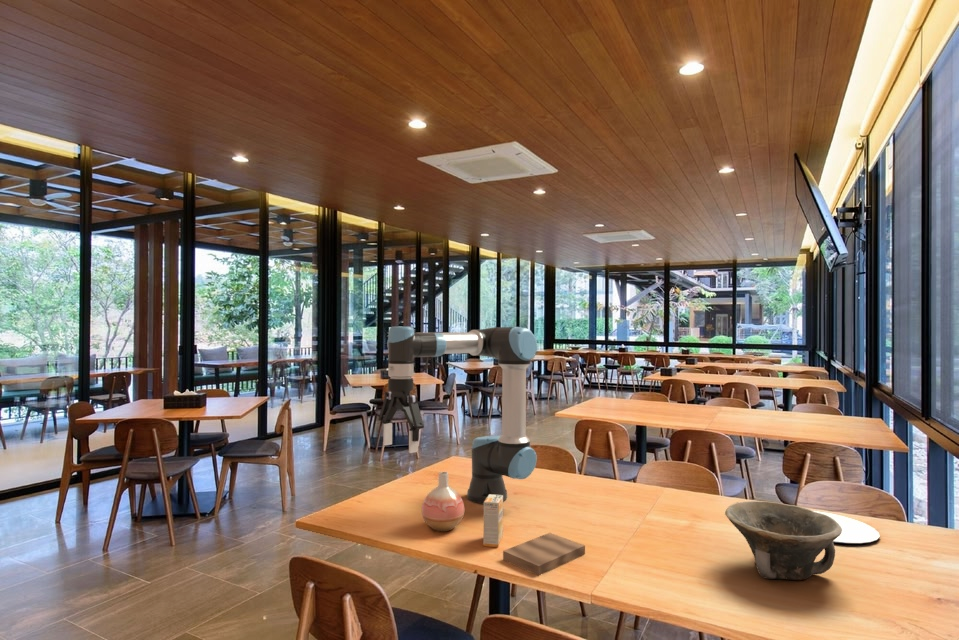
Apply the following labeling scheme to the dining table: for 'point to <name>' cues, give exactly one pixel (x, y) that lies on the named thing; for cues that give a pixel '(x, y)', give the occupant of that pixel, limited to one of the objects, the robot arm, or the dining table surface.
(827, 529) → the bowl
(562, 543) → the walnut board
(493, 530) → the supplement box
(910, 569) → the dining table surface
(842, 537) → the plate
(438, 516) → the vase
